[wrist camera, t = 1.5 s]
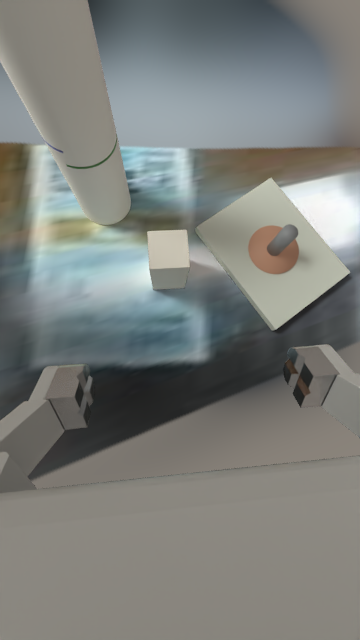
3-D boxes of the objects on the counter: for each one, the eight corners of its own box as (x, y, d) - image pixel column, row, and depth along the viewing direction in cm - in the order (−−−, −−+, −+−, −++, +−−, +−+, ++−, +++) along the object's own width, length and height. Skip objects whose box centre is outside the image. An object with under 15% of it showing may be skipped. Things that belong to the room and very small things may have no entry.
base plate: (195, 231, 37) (200, 205, 31) (267, 183, 39) (286, 150, 33) (272, 330, 35) (294, 324, 29) (344, 275, 37) (379, 258, 31)
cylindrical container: (98, 172, 38) (-29, -188, 13) (140, 195, 37) (90, -127, 13) (71, 209, 36) (-127, -109, 12) (113, 233, 36) (2, -39, 12)
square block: (184, 288, 35) (190, 267, 28) (153, 289, 35) (149, 269, 27) (182, 258, 36) (186, 229, 28) (151, 259, 36) (147, 231, 28)
